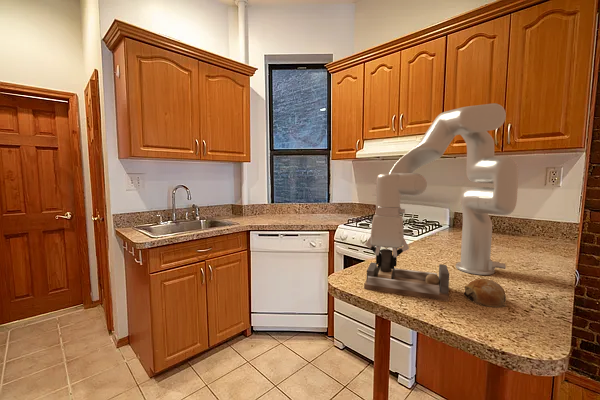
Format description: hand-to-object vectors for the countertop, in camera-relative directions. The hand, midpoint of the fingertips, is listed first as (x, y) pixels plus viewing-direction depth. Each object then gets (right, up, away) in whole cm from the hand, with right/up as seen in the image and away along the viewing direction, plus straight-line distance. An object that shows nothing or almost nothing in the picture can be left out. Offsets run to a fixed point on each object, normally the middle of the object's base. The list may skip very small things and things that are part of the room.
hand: (386, 266), depth 93 cm
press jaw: (0, -4, 0) cm, 4 cm away
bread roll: (+25, -7, -11) cm, 28 cm away
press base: (+6, -6, -2) cm, 9 cm away
